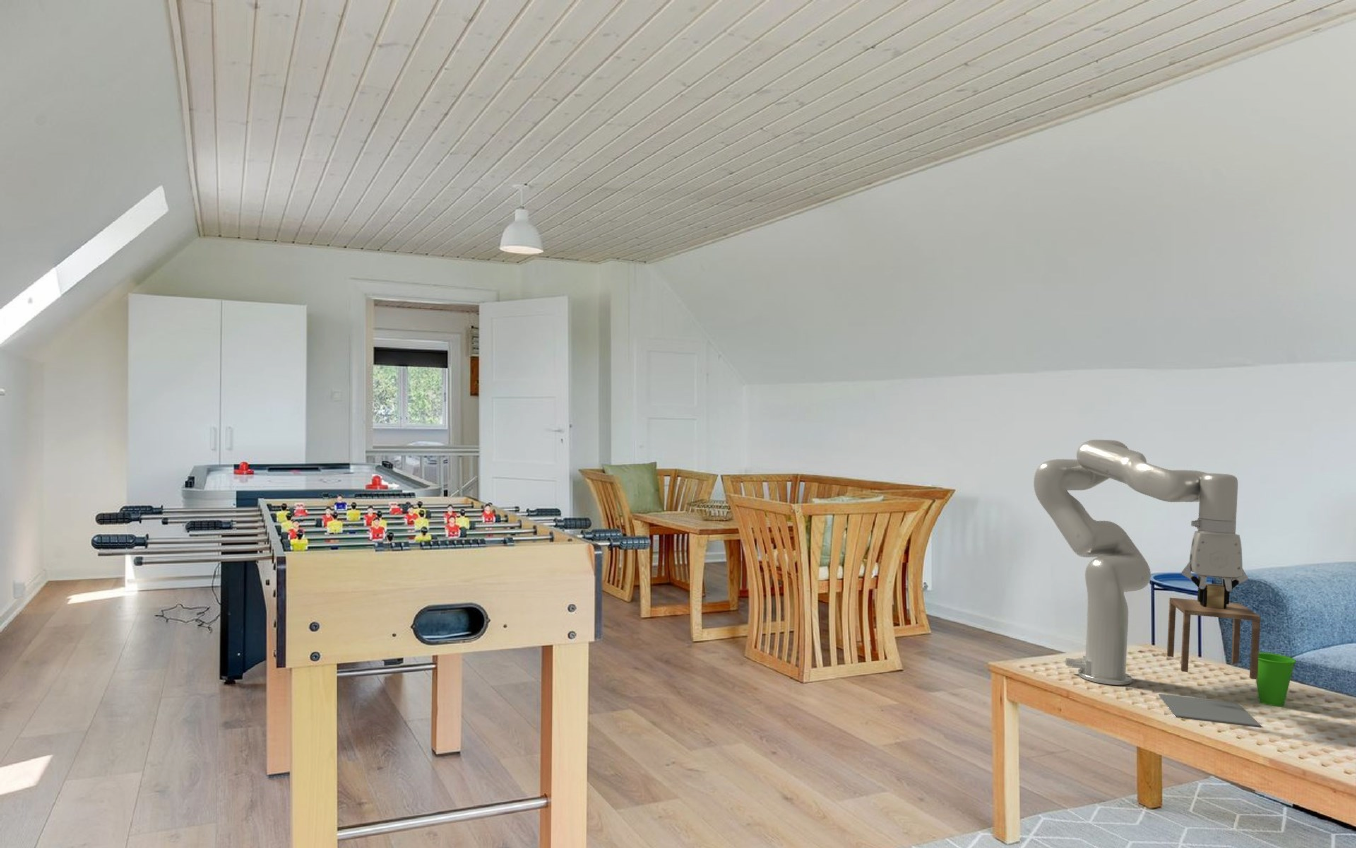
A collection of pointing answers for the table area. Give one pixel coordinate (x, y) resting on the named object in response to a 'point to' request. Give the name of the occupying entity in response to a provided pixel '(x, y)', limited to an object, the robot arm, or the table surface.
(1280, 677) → the cup
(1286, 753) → the table surface
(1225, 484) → the robot arm
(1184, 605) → the cover
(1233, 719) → the mat
